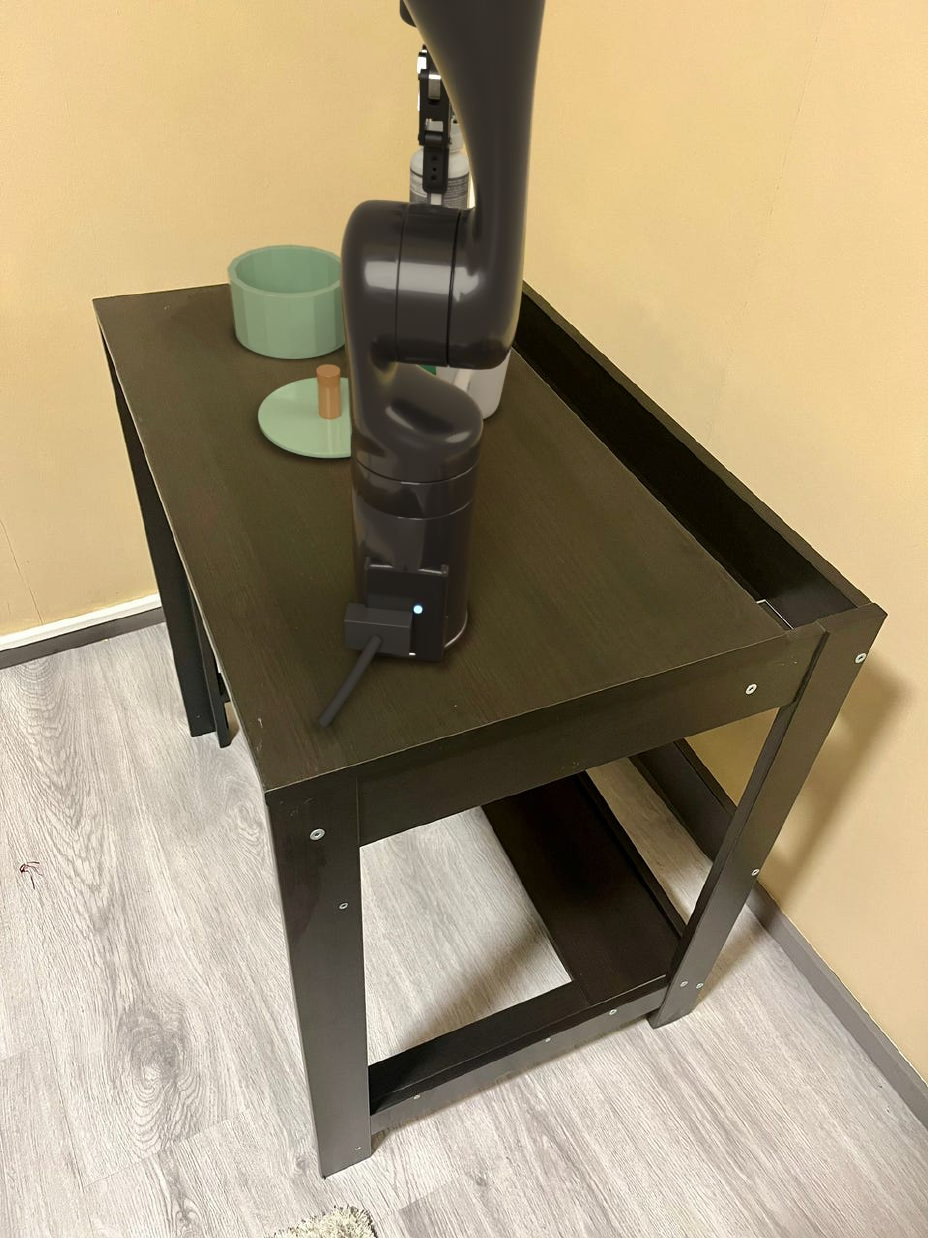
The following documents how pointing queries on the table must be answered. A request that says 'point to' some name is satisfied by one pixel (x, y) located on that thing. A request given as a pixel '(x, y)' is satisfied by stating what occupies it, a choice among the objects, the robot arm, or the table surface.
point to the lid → (310, 415)
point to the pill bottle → (456, 174)
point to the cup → (478, 384)
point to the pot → (287, 301)
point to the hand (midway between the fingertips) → (438, 178)
